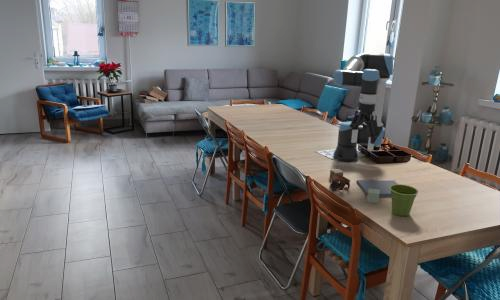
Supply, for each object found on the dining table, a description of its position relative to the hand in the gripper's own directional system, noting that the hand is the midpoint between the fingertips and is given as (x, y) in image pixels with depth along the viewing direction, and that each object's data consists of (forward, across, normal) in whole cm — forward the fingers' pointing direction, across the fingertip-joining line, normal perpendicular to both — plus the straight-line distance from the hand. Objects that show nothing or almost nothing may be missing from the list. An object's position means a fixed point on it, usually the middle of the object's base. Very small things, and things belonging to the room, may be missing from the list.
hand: (361, 146), depth 196 cm
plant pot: (+23, +28, +4) cm, 37 cm away
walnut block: (+23, -16, -2) cm, 28 cm away
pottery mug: (+23, -3, -8) cm, 25 cm away
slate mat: (+23, +3, +13) cm, 26 cm away
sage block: (+23, +14, 0) cm, 27 cm away
